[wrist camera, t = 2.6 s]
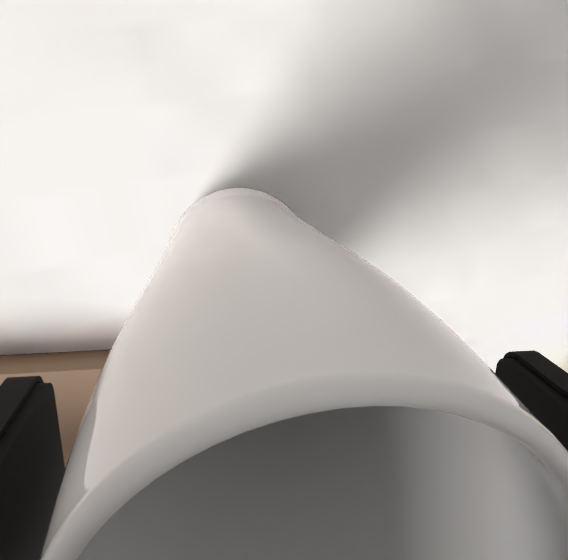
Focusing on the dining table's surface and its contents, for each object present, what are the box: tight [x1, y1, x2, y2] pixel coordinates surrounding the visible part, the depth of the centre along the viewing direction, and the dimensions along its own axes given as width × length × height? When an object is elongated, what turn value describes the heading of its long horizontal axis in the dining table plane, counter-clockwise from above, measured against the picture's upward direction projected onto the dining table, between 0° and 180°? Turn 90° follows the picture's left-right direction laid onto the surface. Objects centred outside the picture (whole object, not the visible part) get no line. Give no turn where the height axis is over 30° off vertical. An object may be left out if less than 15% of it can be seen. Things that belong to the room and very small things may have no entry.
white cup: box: [40, 188, 568, 560], centre depth 12 cm, size 7×7×15 cm
